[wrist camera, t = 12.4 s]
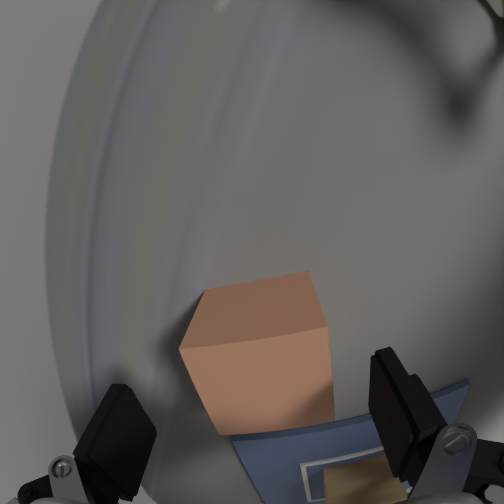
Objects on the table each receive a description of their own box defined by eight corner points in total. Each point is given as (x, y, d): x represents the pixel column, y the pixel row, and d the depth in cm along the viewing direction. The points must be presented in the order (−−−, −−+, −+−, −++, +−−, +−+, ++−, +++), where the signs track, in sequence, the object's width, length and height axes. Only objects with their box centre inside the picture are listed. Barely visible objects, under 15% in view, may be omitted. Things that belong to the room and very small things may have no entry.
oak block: (393, 451, 17) (407, 497, 12) (383, 479, 19) (393, 517, 14) (323, 468, 18) (329, 517, 13) (323, 492, 20) (328, 533, 15)
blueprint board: (466, 379, 15) (471, 385, 15) (422, 478, 21) (424, 483, 20) (232, 434, 17) (231, 443, 17) (272, 511, 23) (272, 517, 22)
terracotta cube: (307, 270, 14) (327, 326, 9) (319, 353, 15) (334, 421, 10) (205, 289, 14) (178, 349, 9) (230, 367, 15) (219, 435, 11)
